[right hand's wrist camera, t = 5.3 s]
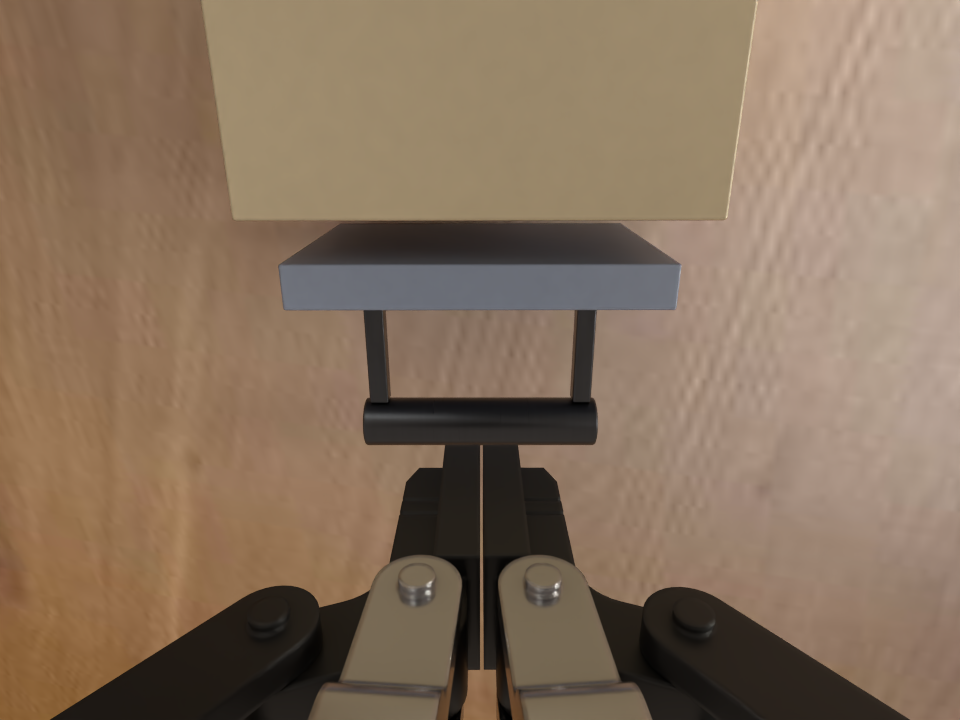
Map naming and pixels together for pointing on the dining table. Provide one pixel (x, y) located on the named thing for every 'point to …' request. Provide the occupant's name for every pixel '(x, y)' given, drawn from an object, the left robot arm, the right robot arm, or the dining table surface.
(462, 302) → the drawer
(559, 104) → the cabinet
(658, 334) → the dining table surface
